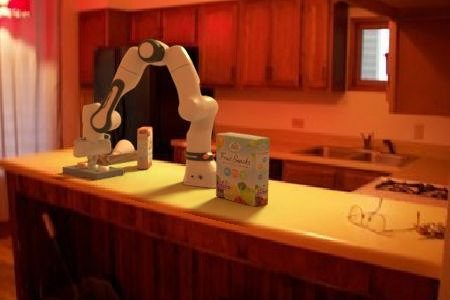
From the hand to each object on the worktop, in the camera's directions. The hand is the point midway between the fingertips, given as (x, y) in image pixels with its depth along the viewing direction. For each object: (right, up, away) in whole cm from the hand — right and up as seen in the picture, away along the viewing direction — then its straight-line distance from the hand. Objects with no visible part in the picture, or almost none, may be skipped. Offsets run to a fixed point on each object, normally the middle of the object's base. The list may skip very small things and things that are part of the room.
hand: (92, 164), depth 239 cm
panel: (0, -5, +1) cm, 5 cm away
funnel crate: (+2, +1, +40) cm, 40 cm away
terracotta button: (-7, -4, +5) cm, 9 cm away
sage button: (0, -5, +1) cm, 5 cm away
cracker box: (+22, -2, +22) cm, 31 cm away
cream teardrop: (+2, +1, +42) cm, 42 cm away
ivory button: (+6, -5, -4) cm, 9 cm away
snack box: (+70, -13, -46) cm, 85 cm away
